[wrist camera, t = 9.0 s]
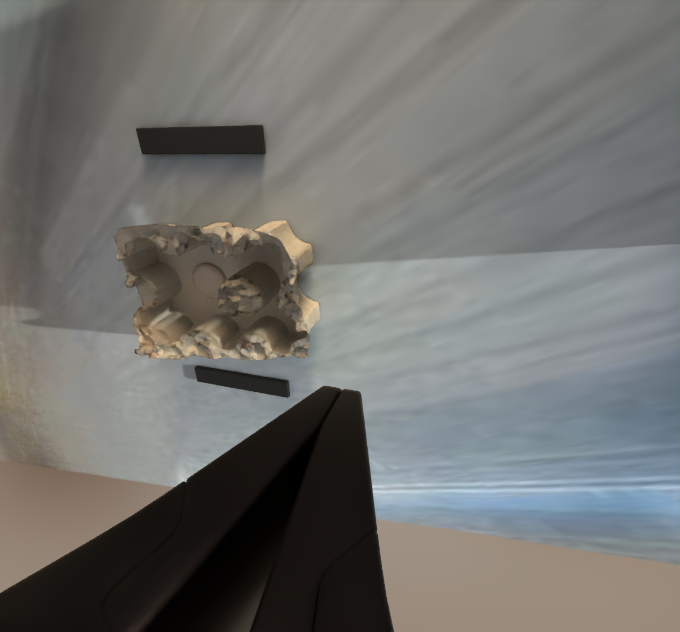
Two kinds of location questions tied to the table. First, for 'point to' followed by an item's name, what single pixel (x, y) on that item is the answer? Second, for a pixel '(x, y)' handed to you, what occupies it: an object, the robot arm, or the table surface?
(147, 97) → the table surface
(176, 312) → the tan rough lump
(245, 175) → the table surface
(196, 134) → the bay strips
